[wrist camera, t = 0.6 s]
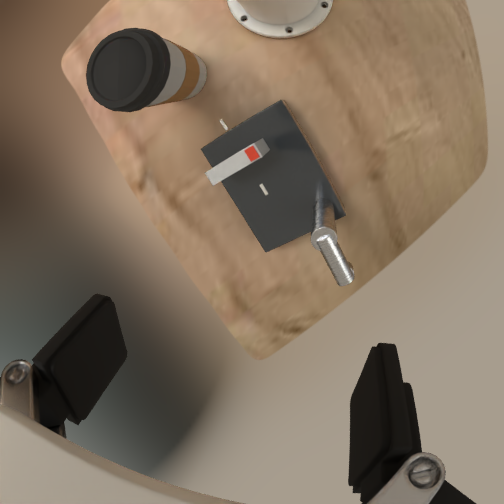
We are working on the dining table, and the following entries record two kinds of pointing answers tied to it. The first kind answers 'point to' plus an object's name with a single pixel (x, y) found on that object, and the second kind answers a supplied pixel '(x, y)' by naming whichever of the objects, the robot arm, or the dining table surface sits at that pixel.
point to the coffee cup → (142, 71)
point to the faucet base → (275, 176)
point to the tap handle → (237, 161)
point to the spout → (329, 241)
